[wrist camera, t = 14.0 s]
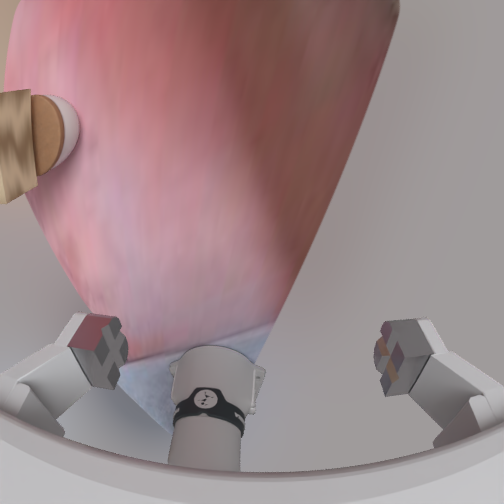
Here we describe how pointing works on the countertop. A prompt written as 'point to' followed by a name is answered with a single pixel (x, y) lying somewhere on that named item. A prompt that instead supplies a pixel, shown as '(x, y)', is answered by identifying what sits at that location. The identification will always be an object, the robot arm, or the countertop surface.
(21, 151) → the beech block
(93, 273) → the countertop surface
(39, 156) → the lidded jar
